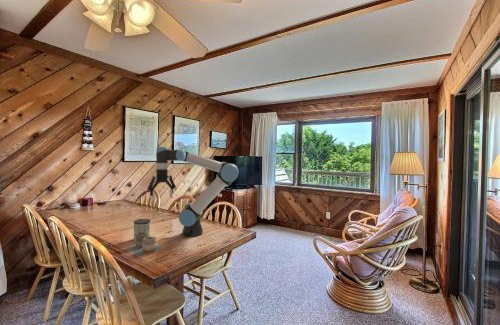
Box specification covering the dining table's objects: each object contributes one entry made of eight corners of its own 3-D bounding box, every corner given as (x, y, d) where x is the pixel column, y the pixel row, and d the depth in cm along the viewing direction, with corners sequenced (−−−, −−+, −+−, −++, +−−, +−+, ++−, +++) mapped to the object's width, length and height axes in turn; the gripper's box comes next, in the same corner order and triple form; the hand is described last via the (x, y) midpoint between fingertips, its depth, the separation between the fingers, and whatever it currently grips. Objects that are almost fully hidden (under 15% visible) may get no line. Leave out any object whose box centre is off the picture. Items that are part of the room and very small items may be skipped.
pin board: (151, 243, 171) (152, 233, 170) (164, 251, 158) (164, 240, 157) (126, 249, 160) (126, 238, 159) (137, 258, 147) (137, 246, 146)
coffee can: (131, 240, 175) (131, 220, 175) (146, 237, 182) (147, 218, 182) (136, 245, 168) (136, 223, 167) (152, 241, 175) (152, 221, 174)
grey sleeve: (141, 243, 167) (141, 231, 167) (149, 245, 165) (149, 232, 164) (133, 246, 161) (133, 234, 161) (141, 248, 158) (141, 235, 158)
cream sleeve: (152, 248, 159) (152, 235, 159) (157, 251, 154) (157, 238, 154) (141, 251, 154) (141, 238, 154) (145, 254, 149) (145, 241, 149)
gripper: (175, 168, 191) (175, 196, 191) (141, 169, 172) (142, 200, 173) (180, 168, 186) (180, 197, 186) (147, 169, 167) (147, 202, 168)
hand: (162, 199), depth 180 cm, fingers open, 13 cm apart
